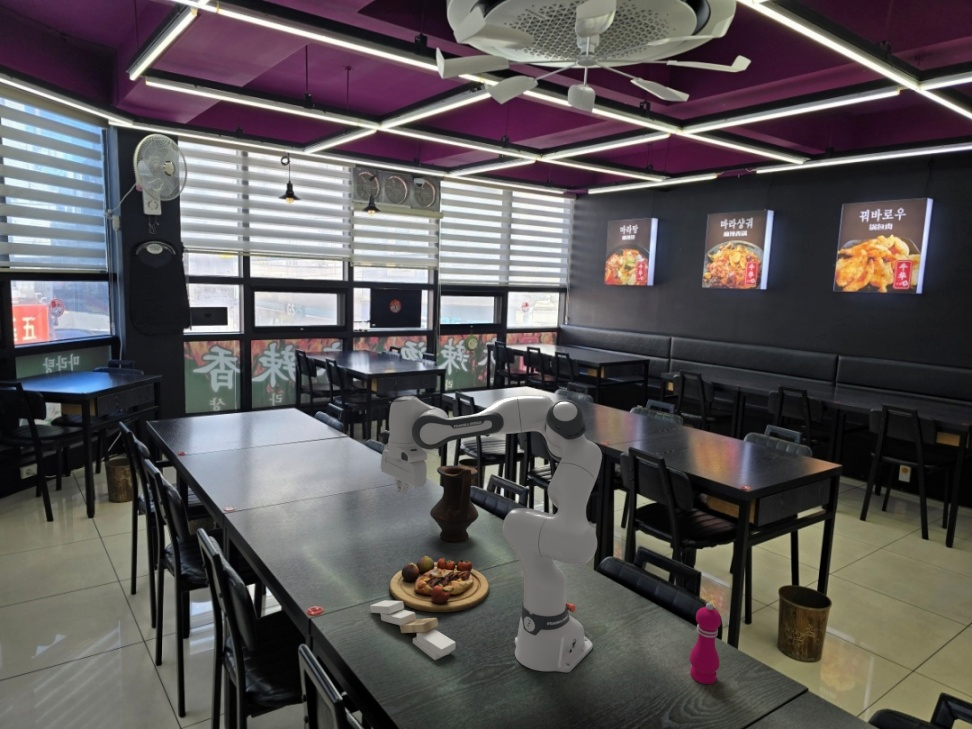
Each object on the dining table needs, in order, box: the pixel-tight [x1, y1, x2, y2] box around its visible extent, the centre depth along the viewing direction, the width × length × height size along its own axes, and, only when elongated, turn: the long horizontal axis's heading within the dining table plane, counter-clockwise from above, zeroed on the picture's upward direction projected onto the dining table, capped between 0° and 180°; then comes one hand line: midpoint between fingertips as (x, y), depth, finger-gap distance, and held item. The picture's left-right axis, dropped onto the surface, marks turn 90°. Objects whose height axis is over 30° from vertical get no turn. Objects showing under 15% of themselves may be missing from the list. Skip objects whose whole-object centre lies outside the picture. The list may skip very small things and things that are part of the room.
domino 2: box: [380, 609, 417, 626], centre depth 180 cm, size 5×2×10 cm
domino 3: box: [399, 617, 439, 634], centre depth 174 cm, size 5×2×10 cm
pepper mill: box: [689, 602, 722, 685], centre depth 160 cm, size 7×7×20 cm
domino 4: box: [416, 628, 457, 657], centre depth 168 cm, size 5×2×10 cm
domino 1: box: [369, 600, 405, 614], centre depth 184 cm, size 5×2×10 cm
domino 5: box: [412, 636, 451, 661], centre depth 169 cm, size 5×2×10 cm
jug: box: [429, 464, 479, 543], centre depth 240 cm, size 21×18×30 cm
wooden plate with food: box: [388, 555, 490, 613], centre depth 202 cm, size 32×32×8 cm
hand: (401, 493), depth 192 cm, fingers closed
